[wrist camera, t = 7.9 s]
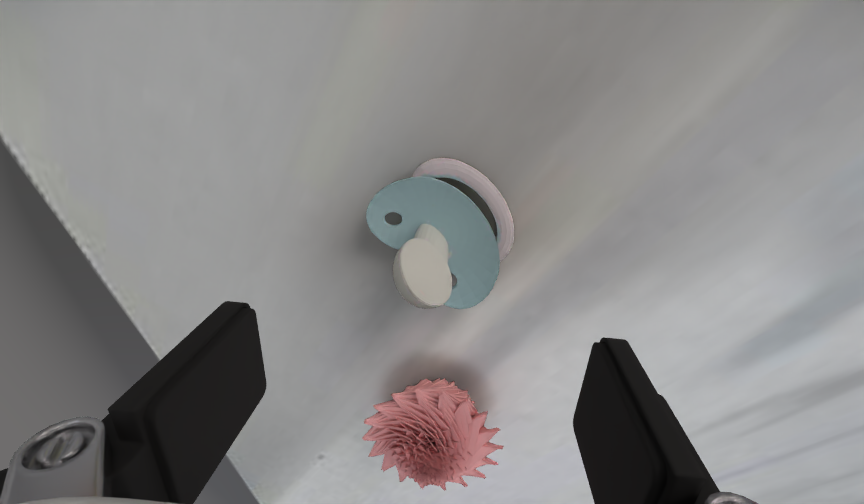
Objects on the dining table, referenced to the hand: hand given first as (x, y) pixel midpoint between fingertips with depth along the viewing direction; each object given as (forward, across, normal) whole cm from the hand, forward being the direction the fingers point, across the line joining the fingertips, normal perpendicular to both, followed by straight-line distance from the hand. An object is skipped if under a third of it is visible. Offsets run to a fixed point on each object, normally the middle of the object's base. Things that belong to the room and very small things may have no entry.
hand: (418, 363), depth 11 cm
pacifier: (+11, 0, 0) cm, 11 cm away
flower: (+11, 0, +12) cm, 16 cm away
